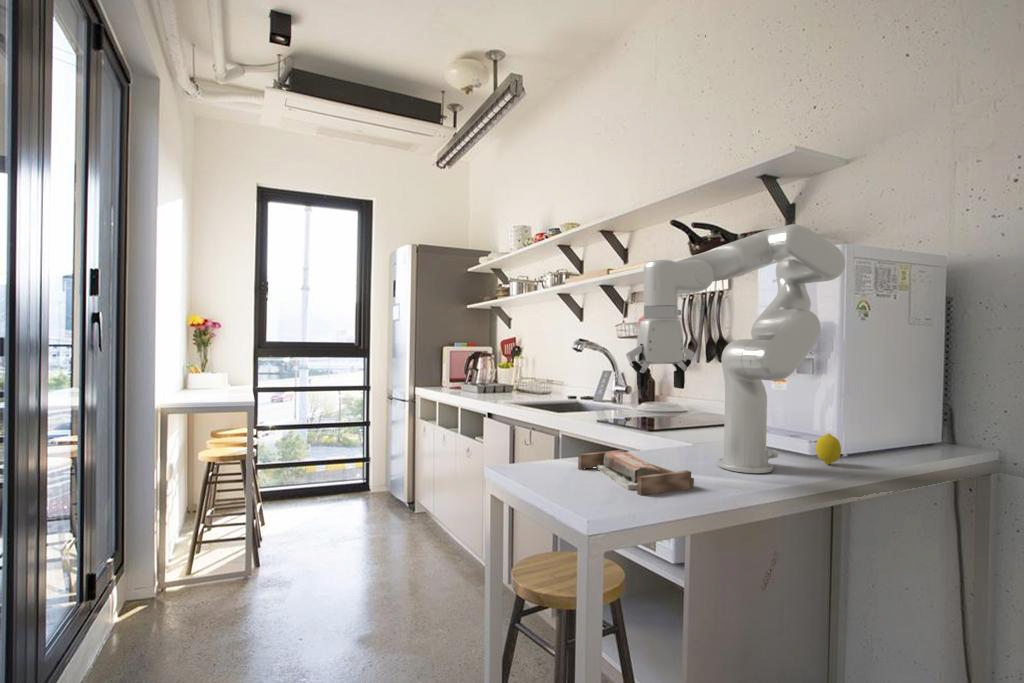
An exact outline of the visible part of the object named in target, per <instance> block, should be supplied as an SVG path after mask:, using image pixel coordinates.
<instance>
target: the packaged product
mask: <svg viewBox="0 0 1024 683" xmlns="http://www.w3.org/2000/svg"><path fill="white" fill-rule="evenodd" d="M648 463H649V462H646V461H644V460H642V459H641V458H639V457H637V456H636V455H633V454H631V453H629V452H627V451H626V452H610V453H605V456H604V463H603V465H600V464H598V465H597V468H596V469H599V470H600V471H602V472H603V473H604V474H606V475H607V476H609V477H610V478H611V479H612V480H611V479H610V478H609V477H608V478H609V479H610V480H611V481H613V480H614V481H615V482H614V481H613V482H614V483H616V482H617V483H618V484H617V483H616V484H617V485H619V486H621V487H622V488H624V489H626V490H627V491H637V482H638V476H645V475H653V474H661V471H660V470H659V469H657V468H655V467H654V466H652V465H653V464H652V465H650V464H651V463H649V464H648ZM599 470H598V471H599ZM600 471H599V472H600ZM602 472H601V473H602ZM603 473H602V474H603ZM604 474H603V475H604ZM606 475H605V476H606ZM607 476H606V477H607Z"/></svg>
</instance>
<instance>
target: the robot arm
mask: <svg viewBox="0 0 1024 683" xmlns="http://www.w3.org/2000/svg"><path fill="white" fill-rule="evenodd" d="M773 264H776V265H775V277H776V281H777V282H776V283H777V292H776V293H777V294H776V296H775V297H774V298H773V300H772V301H771V302H770V304H768V305H767V307H766V308H765V309H764V310H763V312H761V314H760V315H759V316H758V317H757V318H756V320H755V321H754V323H752V326H751V330H750V334H751V335H750V336H751V338H749V339H748V338H746V339H743V338H742V339H737V340H733V341H731V342H729V343H728V344H727V345H726V346H725V347H724V349H723V351H722V353H721V359H720V360H721V368H722V373H723V378H724V379H723V380H724V425H723V426H724V427H723V428H724V430H723V431H724V435H723V436H724V437H723V438H724V439H723V457H720V458H717V461H716V464H717V465H716V466H718V467H719V468H722V469H724V470H727V471H732V472H738V473H744V474H768V473H771V472H772V471H773V470H774V466H773V464H772V463H770V462H769V460H770V459H776V458H778V457H779V452H778V451H777V450H775V449H771V450H769V449H767V432H768V430H767V427H768V426H767V422H768V421H767V420H768V419H767V418H768V394H767V391H766V387H765V384H764V382H763V381H771V382H777V381H782V380H783V381H784V380H785V379H787V378H788V377H790V376H791V375H793V373H794V372H795V371H796V369H797V368H798V367H799V366H800V364H801V363H802V362H803V361H804V360H805V359H806V357H807V356H808V355H809V354H810V353H811V352H812V350H813V349H814V348H815V346H816V344H817V343H818V341H819V339H820V336H821V322H820V318H818V316H817V315H816V314H815V312H812V311H811V306H812V303H811V302H812V301H811V298H810V296H809V293H808V290H807V286H806V284H811V283H821V282H823V283H824V282H829V281H834V280H836V279H837V278H839V277H840V276H842V274H843V273H844V272H845V268H846V258H845V255H844V254H843V251H842V250H841V249H840V248H839V247H838V246H836V244H834V243H832V242H831V241H829V240H827V239H826V238H824V237H823V236H821V235H820V234H818V233H816V231H813V230H811V229H810V228H808V227H806V226H803V225H801V224H795V223H794V224H793V223H792V224H787V225H783V226H779V227H775V228H774V227H773V228H769V229H766V230H763V231H760V232H759V231H758V232H757V233H753V234H751V235H749V236H748V235H747V236H746V237H743V238H740V239H737V240H733V241H732V242H728V243H726V244H723V245H719V246H716V247H714V248H711V249H710V250H707V251H704V252H701V253H698V254H695V255H691V256H690V257H687V258H683V259H680V260H678V261H674V260H670V259H657V260H656V259H655V260H650V261H647V262H646V263H645V264H644V267H643V320H640V322H639V326H638V331H637V339H636V341H637V342H636V347H635V348H633V349H632V350H630V351H628V352H627V353H626V354H625V355H626V356H625V357H626V358H627V360H628V362H629V366H630V367H632V369H633V370H634V373H636V386H637V390H639V391H647V390H649V389H648V388H649V387H648V383H649V382H648V378H649V377H648V373H647V372H646V371H647V370H648V369H649V367H650V365H668V364H669V365H670V364H672V366H673V368H674V370H673V388H675V389H681V390H682V389H684V388H685V382H686V381H685V380H686V379H685V372H687V371H688V368H689V366H690V365H691V364H692V360H693V358H694V355H695V352H694V351H693V350H691V349H689V348H688V347H685V345H684V336H683V330H682V324H681V321H680V320H679V316H681V315H682V310H681V309H679V307H678V306H679V304H678V300H679V299H678V297H679V296H678V295H684V294H696V293H699V292H703V291H705V290H706V289H708V288H709V287H710V286H711V285H712V283H713V282H720V281H726V280H731V279H734V278H738V277H742V276H744V275H747V274H750V273H752V272H755V271H757V270H760V269H763V268H765V267H768V266H770V265H771V266H772V265H773Z"/></svg>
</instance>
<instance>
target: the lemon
mask: <svg viewBox="0 0 1024 683" xmlns="http://www.w3.org/2000/svg"><path fill="white" fill-rule="evenodd" d="M815 451H816V452H815V453H816V456H817V457H818V458H819V459H820V461H822V462H824V464H826V465H827V464H830V465H832V463H835V462H837V461H838V460H839V459H840V457H841V454H842V447H841V443H840V441H839V439H838V438H836V437H835V436H833V435H831V433H826V434H824V435H822V436H820V437H819V438H818V439H817V441H816V444H815Z"/></svg>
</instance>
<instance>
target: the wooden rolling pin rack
mask: <svg viewBox="0 0 1024 683" xmlns="http://www.w3.org/2000/svg"><path fill="white" fill-rule="evenodd" d="M610 452H626V453H627V450H625V449H620V450H619V449H618V450H617V449H616V450H608V451H598V452H589V453H588V452H587V453H578V459H577V461H578V462H577V469H578V468H579V469H578V470H580V469H584V468H593V467H597V465H598V464H600V465H603V463H604V456H605V453H610ZM647 463H648V464H650V465H652V466H654V467H655V468H657V469H659V470H660V471H661V474H653V475H645V476H638V482H637V490H636V491H637V495H640V496H647V495H654V494H660V493H667V492H675V491H683V490H688V489H694V488H695V478H694V477H692V471H691V470H687V469H686V470H681V471H680V470H679V471H673V470H670V469H667V468H664V467H661V466H657V465H655V464H652V463H649V462H647ZM593 469H594V468H593ZM584 470H585V469H584ZM646 494H647V495H646Z"/></svg>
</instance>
